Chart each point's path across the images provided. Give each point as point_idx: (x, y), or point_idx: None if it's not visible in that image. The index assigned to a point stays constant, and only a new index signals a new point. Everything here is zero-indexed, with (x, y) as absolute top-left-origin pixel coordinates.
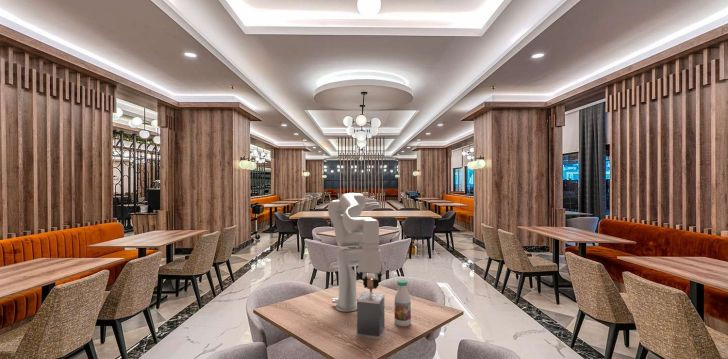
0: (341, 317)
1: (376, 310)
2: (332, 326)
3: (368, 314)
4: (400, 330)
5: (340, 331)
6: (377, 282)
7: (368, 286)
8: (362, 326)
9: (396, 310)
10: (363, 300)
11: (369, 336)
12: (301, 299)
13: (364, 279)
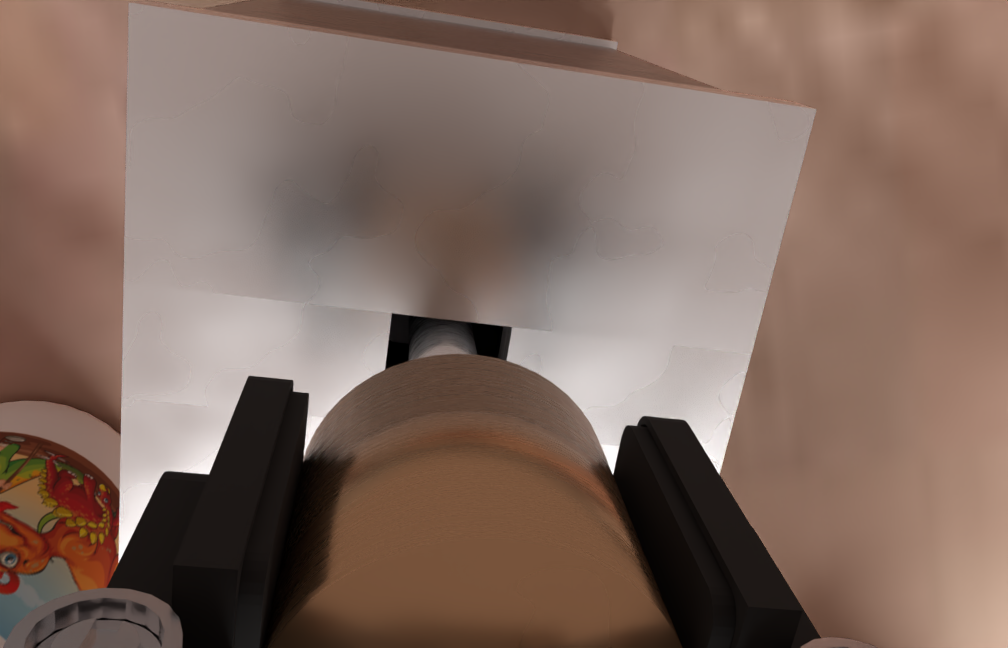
0: (856, 518)
1: (265, 17)
2: (950, 265)
3: (454, 40)
4: (35, 291)
5: (837, 142)
6: (132, 549)
7: (533, 401)
8: (546, 43)
9: (43, 533)
10: (612, 74)
11: (427, 12)
12: None
13: (781, 598)
